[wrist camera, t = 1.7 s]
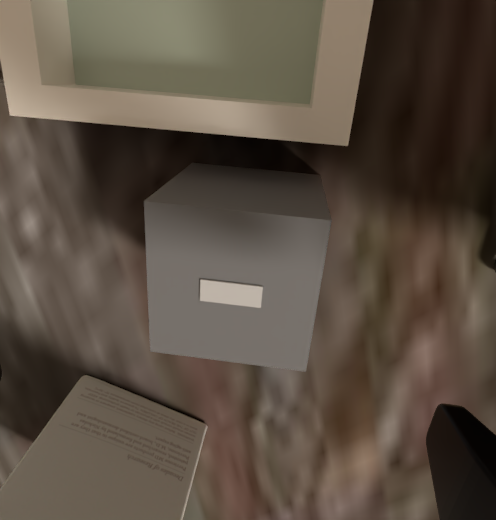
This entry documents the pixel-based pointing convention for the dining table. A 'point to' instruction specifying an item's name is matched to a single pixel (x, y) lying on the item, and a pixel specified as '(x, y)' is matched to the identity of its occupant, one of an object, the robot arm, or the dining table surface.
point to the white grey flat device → (189, 64)
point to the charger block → (236, 264)
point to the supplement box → (106, 460)
